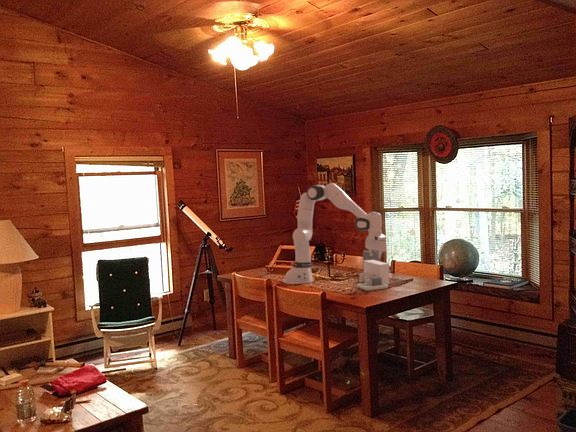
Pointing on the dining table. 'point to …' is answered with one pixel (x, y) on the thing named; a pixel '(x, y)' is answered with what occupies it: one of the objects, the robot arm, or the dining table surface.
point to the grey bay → (375, 271)
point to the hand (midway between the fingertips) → (375, 256)
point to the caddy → (373, 281)
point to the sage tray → (372, 287)
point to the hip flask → (370, 257)
